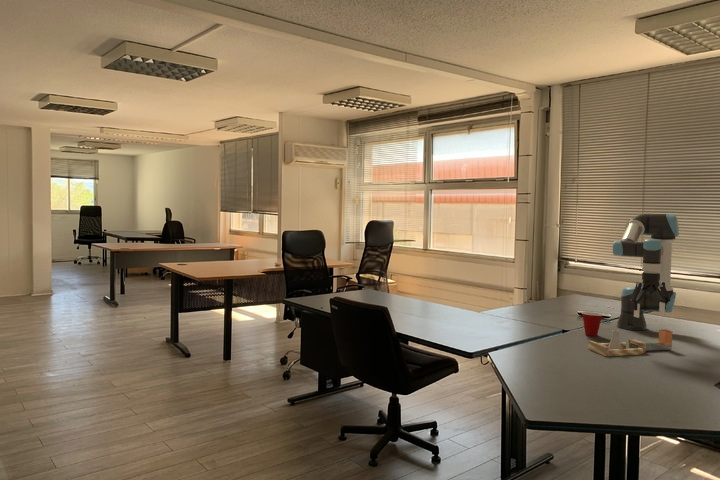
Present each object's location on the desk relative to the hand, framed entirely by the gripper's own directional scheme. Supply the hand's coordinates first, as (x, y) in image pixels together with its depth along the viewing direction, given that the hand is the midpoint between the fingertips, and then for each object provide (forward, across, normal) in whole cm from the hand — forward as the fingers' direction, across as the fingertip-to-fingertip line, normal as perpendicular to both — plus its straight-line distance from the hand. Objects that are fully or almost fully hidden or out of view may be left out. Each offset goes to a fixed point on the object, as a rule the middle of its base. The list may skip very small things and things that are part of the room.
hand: (649, 316), depth 258 cm
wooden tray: (+16, +17, +1) cm, 24 cm away
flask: (+16, +18, +1) cm, 24 cm away
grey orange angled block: (+16, -1, 0) cm, 16 cm away
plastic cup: (+16, +9, -31) cm, 36 cm away
